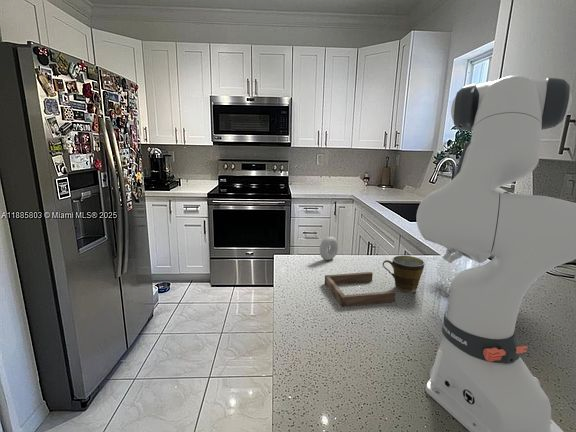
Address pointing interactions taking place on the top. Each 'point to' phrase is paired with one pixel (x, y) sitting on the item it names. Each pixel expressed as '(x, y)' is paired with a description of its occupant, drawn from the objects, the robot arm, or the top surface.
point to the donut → (324, 248)
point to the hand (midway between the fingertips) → (446, 260)
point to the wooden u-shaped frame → (356, 298)
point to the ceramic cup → (406, 272)
